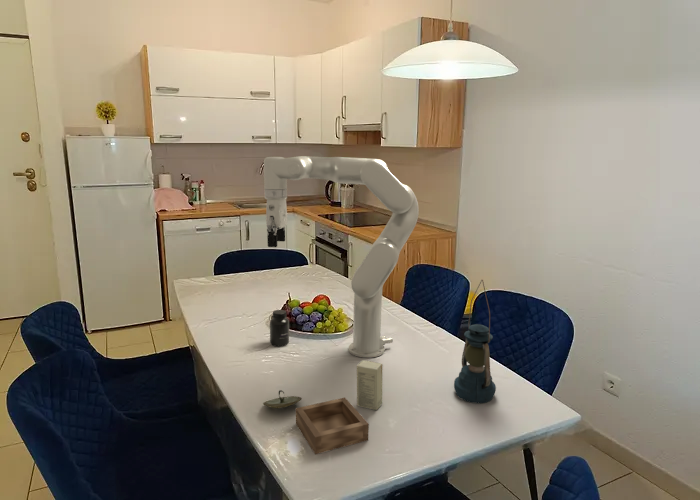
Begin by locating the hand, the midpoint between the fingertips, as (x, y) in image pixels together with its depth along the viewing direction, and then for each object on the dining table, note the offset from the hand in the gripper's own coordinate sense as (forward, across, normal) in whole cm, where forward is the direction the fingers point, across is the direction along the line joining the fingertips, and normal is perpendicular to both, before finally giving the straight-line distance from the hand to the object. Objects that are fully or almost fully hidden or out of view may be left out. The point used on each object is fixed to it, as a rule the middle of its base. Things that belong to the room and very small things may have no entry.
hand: (276, 243), depth 172 cm
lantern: (+37, -25, -66) cm, 80 cm away
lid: (+37, -42, -13) cm, 58 cm away
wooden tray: (+37, -51, -29) cm, 69 cm away
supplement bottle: (+37, +1, 0) cm, 37 cm away
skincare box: (+37, -36, -37) cm, 64 cm away
